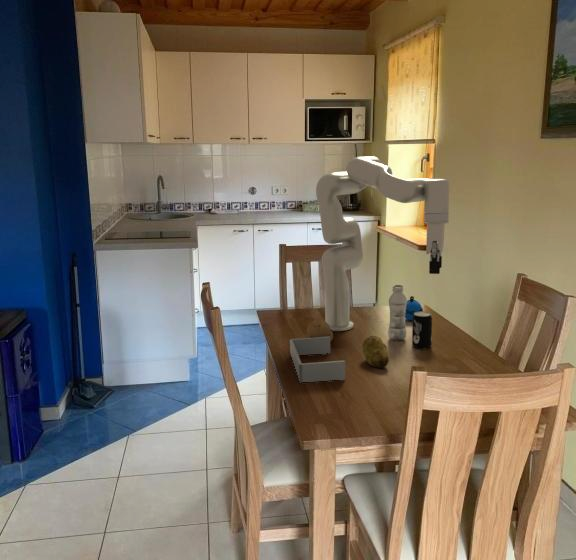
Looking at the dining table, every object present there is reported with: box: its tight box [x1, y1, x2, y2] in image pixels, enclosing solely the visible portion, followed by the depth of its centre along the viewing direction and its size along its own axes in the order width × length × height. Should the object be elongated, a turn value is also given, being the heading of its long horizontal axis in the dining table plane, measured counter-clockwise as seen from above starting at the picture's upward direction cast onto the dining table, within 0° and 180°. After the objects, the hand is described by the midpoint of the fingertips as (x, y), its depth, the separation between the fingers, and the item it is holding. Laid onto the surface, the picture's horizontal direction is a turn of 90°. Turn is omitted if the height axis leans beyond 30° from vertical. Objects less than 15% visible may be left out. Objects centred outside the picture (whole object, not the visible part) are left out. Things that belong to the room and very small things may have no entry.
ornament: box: [405, 295, 424, 322], centre depth 225 cm, size 9×9×10 cm
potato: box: [361, 335, 390, 369], centre depth 181 cm, size 8×13×8 cm, turn 173°
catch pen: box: [289, 336, 346, 383], centre depth 179 cm, size 24×14×6 cm, turn 7°
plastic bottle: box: [387, 284, 408, 341], centre depth 202 cm, size 6×7×20 cm
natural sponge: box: [306, 318, 334, 342], centre depth 199 cm, size 9×9×10 cm
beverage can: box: [411, 310, 433, 350], centre depth 194 cm, size 7×7×12 cm
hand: (435, 270), depth 183 cm, fingers open, 9 cm apart
